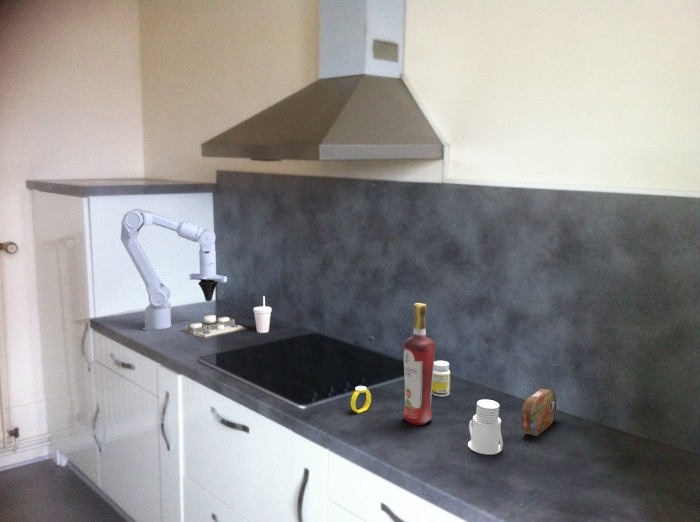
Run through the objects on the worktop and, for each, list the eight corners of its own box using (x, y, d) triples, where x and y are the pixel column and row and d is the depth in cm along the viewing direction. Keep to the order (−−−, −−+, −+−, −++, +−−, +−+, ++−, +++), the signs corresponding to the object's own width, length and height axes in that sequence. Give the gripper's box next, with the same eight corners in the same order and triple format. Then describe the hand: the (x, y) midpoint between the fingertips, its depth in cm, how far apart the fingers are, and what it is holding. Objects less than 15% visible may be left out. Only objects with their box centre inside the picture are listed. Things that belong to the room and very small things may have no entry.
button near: (187, 330, 224) (187, 324, 224) (197, 328, 227) (197, 322, 227) (194, 332, 221) (194, 326, 221) (204, 330, 224) (204, 324, 224)
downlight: (459, 446, 138) (462, 402, 137) (478, 436, 143) (481, 394, 141) (491, 460, 133) (495, 414, 131) (509, 449, 138) (513, 405, 136)
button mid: (202, 322, 228) (201, 316, 228) (211, 320, 231) (211, 314, 231) (208, 324, 226) (208, 318, 225) (218, 322, 229) (218, 316, 228)
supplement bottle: (439, 389, 173) (439, 359, 172) (453, 393, 170) (454, 363, 169) (427, 393, 170) (428, 362, 169) (442, 398, 167) (443, 366, 165)
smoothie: (270, 337, 222) (270, 298, 220) (252, 337, 223) (251, 297, 220) (273, 333, 229) (272, 294, 227) (255, 332, 229) (254, 294, 227)
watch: (357, 416, 155) (356, 393, 154) (348, 413, 157) (347, 390, 156) (373, 408, 159) (372, 385, 158) (365, 405, 161) (364, 383, 160)
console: (181, 335, 225) (181, 325, 225) (222, 325, 239) (222, 316, 238) (205, 342, 216) (205, 332, 215) (247, 332, 229) (247, 322, 229)
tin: (531, 441, 141) (533, 404, 140) (517, 437, 143) (519, 401, 142) (556, 420, 153) (558, 386, 152) (543, 417, 155) (545, 383, 154)
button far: (215, 324, 233) (215, 318, 233) (224, 322, 236) (224, 316, 236) (222, 326, 230) (222, 320, 230) (231, 324, 233) (231, 318, 233)
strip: (198, 334, 220) (198, 328, 220) (235, 326, 232) (235, 320, 232) (205, 336, 217) (205, 330, 217) (242, 328, 229) (242, 322, 229)
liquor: (395, 419, 153) (397, 303, 148) (418, 412, 157) (421, 299, 153) (416, 429, 147) (418, 309, 142) (439, 422, 151) (443, 305, 147)
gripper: (183, 263, 229) (185, 301, 231) (219, 266, 224) (220, 304, 226) (195, 260, 236) (196, 297, 238) (229, 263, 231) (230, 300, 233)
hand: (208, 300), depth 232 cm, fingers closed
